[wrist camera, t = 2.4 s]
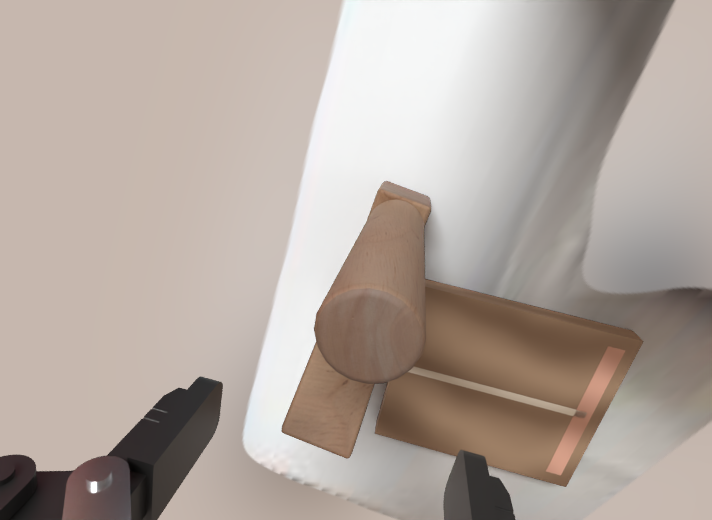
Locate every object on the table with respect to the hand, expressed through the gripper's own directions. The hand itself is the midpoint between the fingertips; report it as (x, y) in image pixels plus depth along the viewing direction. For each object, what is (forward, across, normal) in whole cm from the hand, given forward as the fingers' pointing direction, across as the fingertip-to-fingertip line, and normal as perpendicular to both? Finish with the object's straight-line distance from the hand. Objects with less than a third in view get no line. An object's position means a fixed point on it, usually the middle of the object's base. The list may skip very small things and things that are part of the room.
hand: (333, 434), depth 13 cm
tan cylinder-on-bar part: (+19, 0, 0) cm, 19 cm away
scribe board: (+19, -11, +8) cm, 23 cm away
